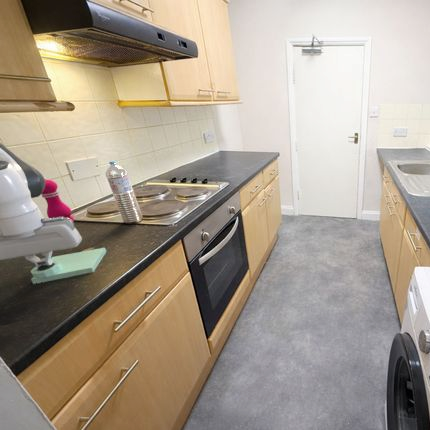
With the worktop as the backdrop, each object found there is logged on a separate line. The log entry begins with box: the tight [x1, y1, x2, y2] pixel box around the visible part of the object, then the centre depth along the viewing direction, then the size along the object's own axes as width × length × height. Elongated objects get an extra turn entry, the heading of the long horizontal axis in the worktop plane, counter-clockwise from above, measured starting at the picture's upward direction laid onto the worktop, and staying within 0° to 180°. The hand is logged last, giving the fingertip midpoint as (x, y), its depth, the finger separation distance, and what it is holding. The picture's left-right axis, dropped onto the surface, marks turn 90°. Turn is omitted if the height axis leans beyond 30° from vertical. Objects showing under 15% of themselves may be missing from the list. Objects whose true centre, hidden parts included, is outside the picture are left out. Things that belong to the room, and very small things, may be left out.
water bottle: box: [104, 160, 144, 225], centre depth 105 cm, size 7×7×25 cm
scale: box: [30, 247, 108, 285], centre depth 81 cm, size 14×13×4 cm
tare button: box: [38, 263, 54, 271], centre depth 76 cm, size 3×3×2 cm
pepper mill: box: [40, 175, 75, 222], centre depth 106 cm, size 7×7×20 cm
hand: (45, 265), depth 76 cm, fingers closed, pressing on tare button
